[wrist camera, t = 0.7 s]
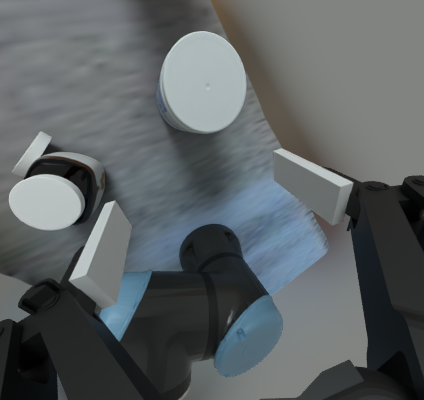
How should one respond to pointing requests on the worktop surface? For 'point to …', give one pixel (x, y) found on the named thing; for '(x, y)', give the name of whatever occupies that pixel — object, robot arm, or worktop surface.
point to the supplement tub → (201, 84)
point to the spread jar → (56, 187)
